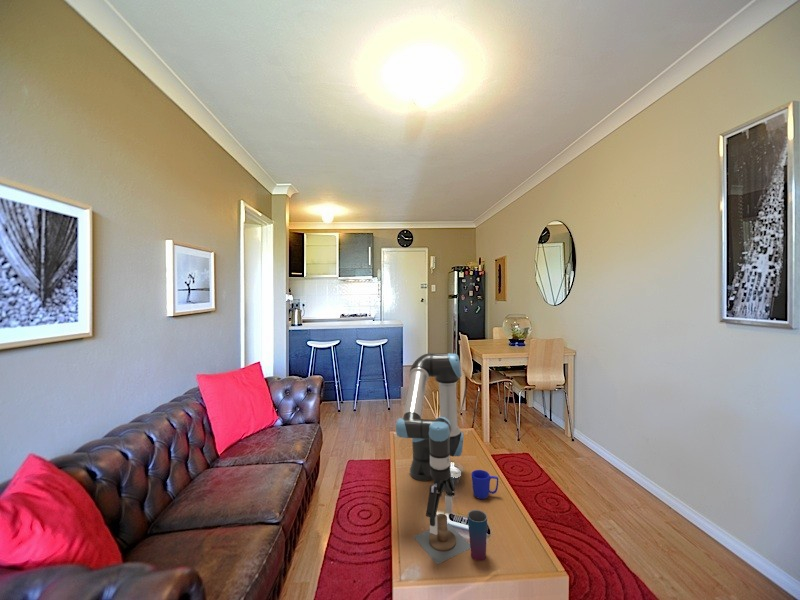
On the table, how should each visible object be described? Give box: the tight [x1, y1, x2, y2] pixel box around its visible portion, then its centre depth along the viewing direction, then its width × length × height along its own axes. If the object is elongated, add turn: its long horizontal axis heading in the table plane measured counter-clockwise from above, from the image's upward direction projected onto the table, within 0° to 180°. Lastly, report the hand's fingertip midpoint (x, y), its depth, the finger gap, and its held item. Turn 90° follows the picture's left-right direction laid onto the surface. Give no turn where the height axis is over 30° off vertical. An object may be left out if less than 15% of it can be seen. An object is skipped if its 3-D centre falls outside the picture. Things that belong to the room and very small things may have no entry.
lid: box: [429, 513, 456, 551], centre depth 128 cm, size 10×10×9 cm
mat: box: [412, 524, 471, 565], centre depth 128 cm, size 16×16×1 cm
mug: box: [471, 469, 499, 500], centre depth 157 cm, size 8×12×10 cm
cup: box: [467, 509, 488, 562], centre depth 120 cm, size 7×7×15 cm
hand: (441, 522), depth 127 cm, fingers open, 13 cm apart
